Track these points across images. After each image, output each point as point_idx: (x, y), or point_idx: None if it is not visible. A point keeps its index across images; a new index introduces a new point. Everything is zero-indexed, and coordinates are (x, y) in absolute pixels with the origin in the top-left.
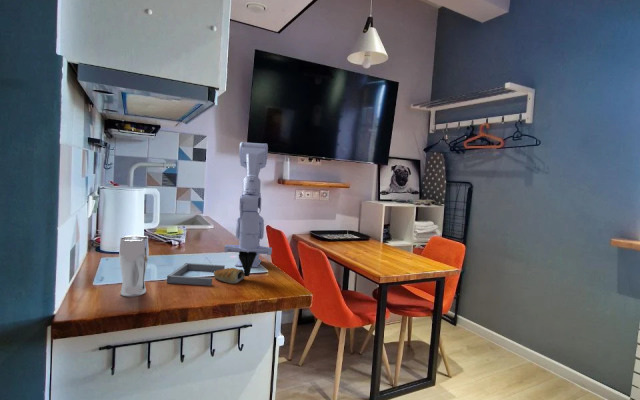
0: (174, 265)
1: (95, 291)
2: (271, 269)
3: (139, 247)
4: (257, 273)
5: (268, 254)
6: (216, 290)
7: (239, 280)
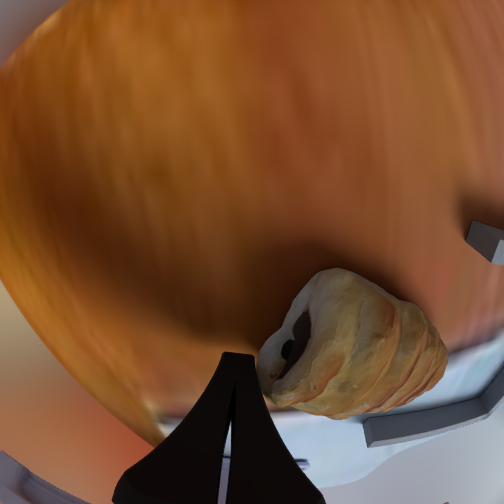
0: None
1: None
2: (155, 439)
3: None
4: None
5: (12, 461)
6: (444, 118)
7: (290, 312)
